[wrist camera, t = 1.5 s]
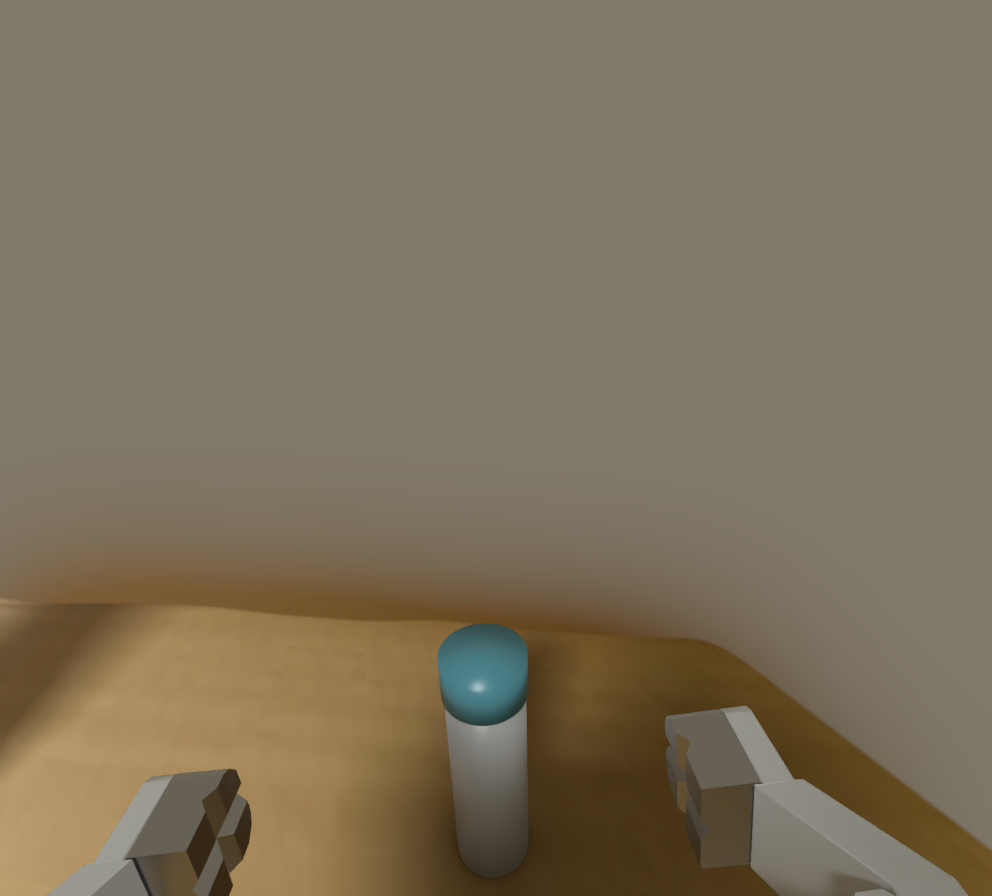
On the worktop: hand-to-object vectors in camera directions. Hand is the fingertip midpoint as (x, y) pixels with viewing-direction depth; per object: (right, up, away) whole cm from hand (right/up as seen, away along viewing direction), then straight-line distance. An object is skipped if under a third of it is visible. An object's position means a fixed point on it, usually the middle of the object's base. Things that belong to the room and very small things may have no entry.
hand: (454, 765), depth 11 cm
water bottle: (+1, -14, +18) cm, 23 cm away
